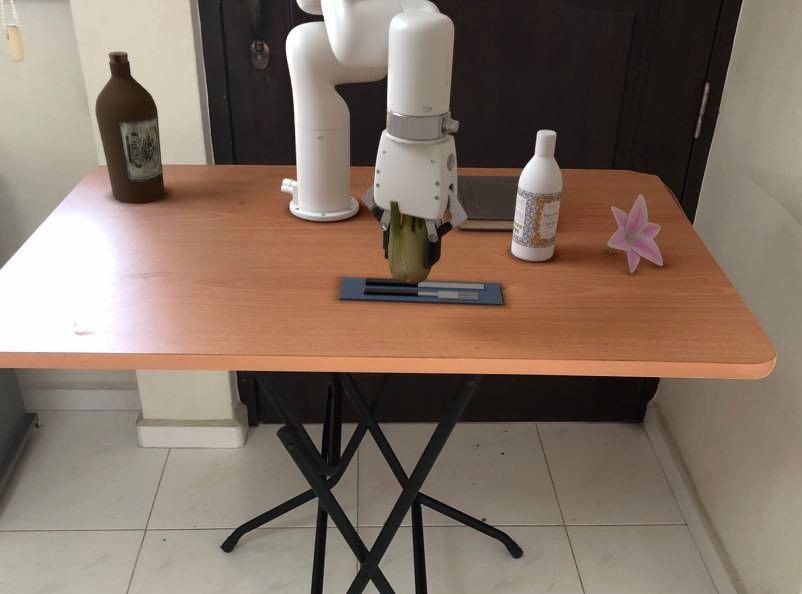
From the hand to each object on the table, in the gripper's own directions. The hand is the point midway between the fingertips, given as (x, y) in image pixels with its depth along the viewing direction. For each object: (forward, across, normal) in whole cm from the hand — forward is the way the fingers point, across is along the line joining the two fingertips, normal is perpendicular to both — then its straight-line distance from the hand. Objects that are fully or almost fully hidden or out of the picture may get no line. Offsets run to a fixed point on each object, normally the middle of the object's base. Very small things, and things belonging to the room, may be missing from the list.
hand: (411, 259), depth 112 cm
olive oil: (+11, +66, -20) cm, 70 cm away
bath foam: (+10, -8, -32) cm, 34 cm away
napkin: (+10, +2, -10) cm, 14 cm away
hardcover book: (+11, +5, -48) cm, 50 cm away
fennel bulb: (+3, 0, 0) cm, 3 cm away
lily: (+10, -23, -36) cm, 44 cm away
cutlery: (+10, +2, -10) cm, 14 cm away
